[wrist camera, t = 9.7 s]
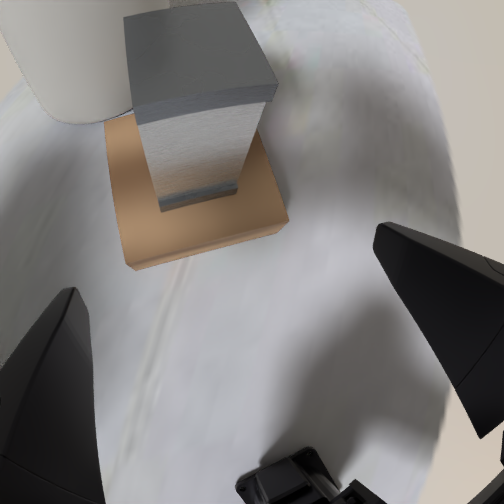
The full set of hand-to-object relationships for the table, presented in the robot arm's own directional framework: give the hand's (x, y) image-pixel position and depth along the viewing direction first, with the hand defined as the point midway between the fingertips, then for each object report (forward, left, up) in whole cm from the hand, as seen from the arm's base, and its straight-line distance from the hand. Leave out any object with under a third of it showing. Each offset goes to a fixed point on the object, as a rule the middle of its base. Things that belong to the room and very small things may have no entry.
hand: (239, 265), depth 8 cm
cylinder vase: (+22, +1, -12) cm, 25 cm away
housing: (+8, -2, -9) cm, 12 cm away
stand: (+8, -2, -12) cm, 14 cm away
